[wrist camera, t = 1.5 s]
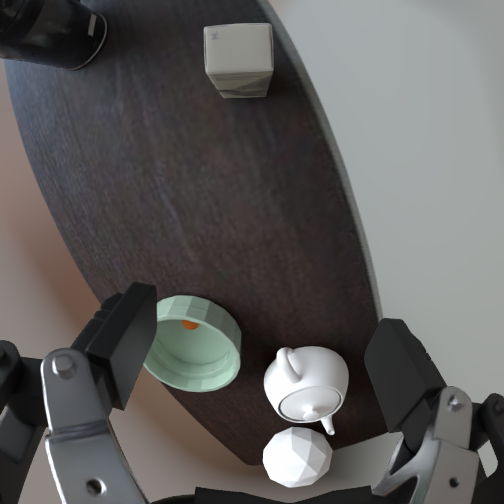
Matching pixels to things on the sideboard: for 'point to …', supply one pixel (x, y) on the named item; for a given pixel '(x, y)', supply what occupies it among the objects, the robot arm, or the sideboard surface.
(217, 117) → the sideboard surface
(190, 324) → the ball
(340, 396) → the teapot
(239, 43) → the box
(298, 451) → the geometric shape
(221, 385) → the bowl
